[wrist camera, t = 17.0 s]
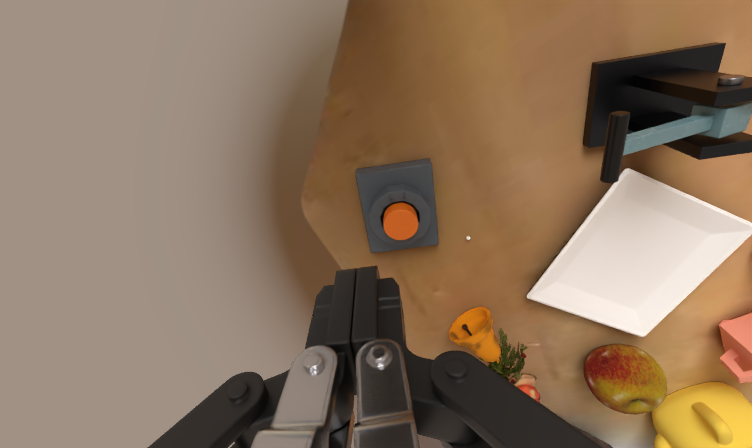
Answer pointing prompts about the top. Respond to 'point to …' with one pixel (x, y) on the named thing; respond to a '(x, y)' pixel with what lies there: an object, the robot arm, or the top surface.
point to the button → (400, 221)
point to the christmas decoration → (486, 341)
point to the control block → (393, 187)
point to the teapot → (704, 418)
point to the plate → (639, 255)
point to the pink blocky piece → (737, 347)
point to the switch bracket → (666, 96)
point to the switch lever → (669, 132)
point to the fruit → (625, 378)
